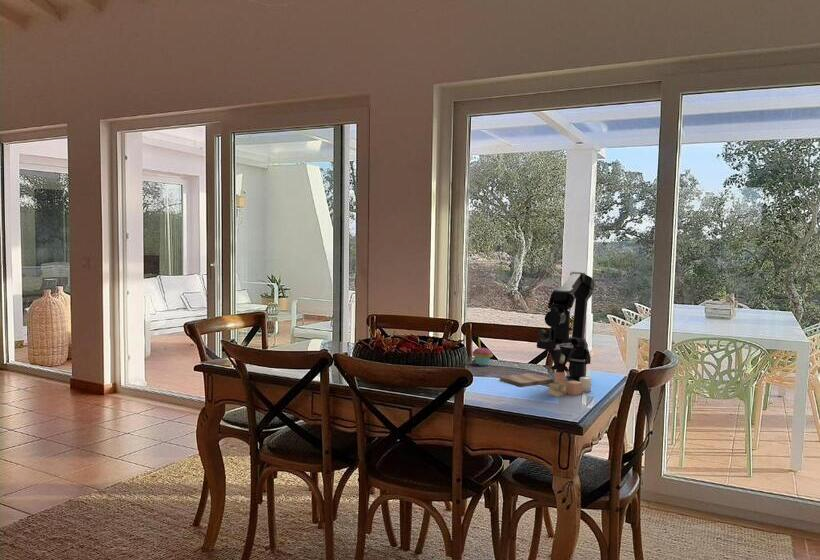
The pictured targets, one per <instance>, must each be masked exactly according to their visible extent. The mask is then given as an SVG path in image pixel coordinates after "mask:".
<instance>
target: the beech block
mask: <svg viewBox="0 0 820 560" xmlns="http://www.w3.org/2000/svg"><path fill="white" fill-rule="evenodd" d="M565 392H566V383H565V384H563V383H559V382H555V381H553V382H550V383H548V395H549V396H550V395H551V396H554V397H556V398H557V397H563V396H566V393H565Z"/></svg>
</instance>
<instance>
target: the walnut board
mask: <svg viewBox="0 0 820 560" xmlns="http://www.w3.org/2000/svg"><path fill="white" fill-rule="evenodd" d="M499 380H500V381H502V382H505V383H509V384H512V385H516V386H518V387H521V388H522V387H528V386H536V385H542V384H549V383H554V378H551V377H547V376H543V375H540V374H537V373H534V372H533V373H532V372H527V373H521V374H511V375H505V376H500V378H499Z"/></svg>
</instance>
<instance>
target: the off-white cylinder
mask: <svg viewBox="0 0 820 560" xmlns="http://www.w3.org/2000/svg"><path fill="white" fill-rule="evenodd" d="M579 382H581V383H582V392H584V393H585V392H586V393H589V392H592V377H589V376H587V377H580V380H579Z"/></svg>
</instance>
